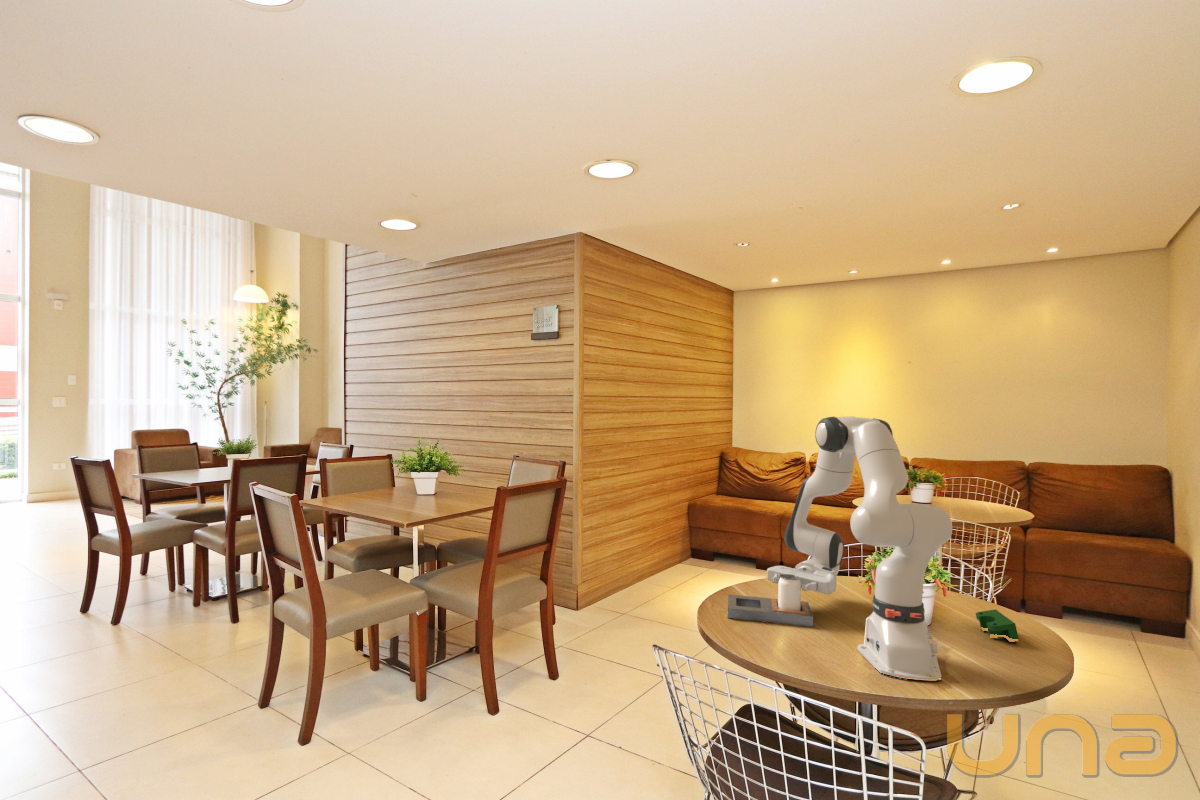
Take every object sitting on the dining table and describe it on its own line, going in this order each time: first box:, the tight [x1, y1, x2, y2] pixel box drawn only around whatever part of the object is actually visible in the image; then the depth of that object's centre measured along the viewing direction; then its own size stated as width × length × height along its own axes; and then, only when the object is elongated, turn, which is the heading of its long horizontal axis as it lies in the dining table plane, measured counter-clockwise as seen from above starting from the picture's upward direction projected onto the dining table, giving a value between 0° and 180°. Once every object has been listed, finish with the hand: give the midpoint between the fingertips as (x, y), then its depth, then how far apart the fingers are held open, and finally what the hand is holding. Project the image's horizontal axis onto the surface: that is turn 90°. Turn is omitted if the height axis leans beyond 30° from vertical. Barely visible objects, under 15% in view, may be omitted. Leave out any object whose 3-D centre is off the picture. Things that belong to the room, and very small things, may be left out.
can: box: [777, 574, 802, 611], centre depth 185 cm, size 6×6×12 cm
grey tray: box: [727, 594, 814, 628], centre depth 186 cm, size 13×24×3 cm, turn 78°
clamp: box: [975, 609, 1020, 640], centre depth 175 cm, size 12×6×9 cm, turn 166°
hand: (789, 584), depth 184 cm, fingers open, 8 cm apart
